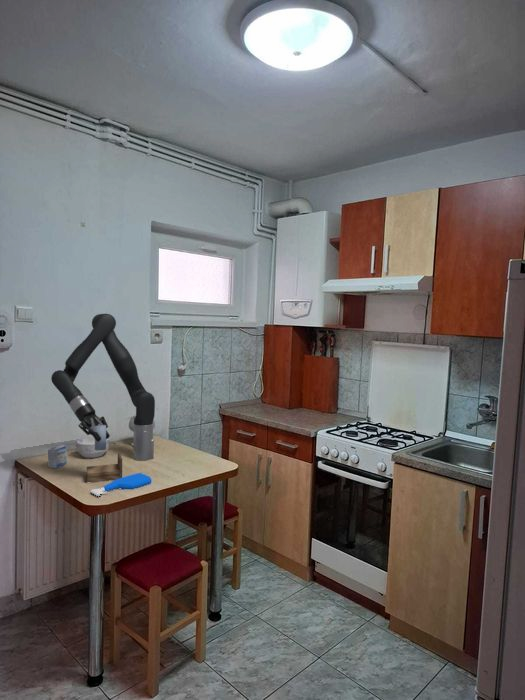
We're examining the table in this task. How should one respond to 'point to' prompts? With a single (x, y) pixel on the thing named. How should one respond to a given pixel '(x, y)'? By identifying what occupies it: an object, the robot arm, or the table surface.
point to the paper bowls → (90, 447)
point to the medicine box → (57, 456)
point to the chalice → (131, 426)
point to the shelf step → (105, 472)
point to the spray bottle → (124, 483)
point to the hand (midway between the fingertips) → (103, 438)
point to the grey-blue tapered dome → (102, 432)
